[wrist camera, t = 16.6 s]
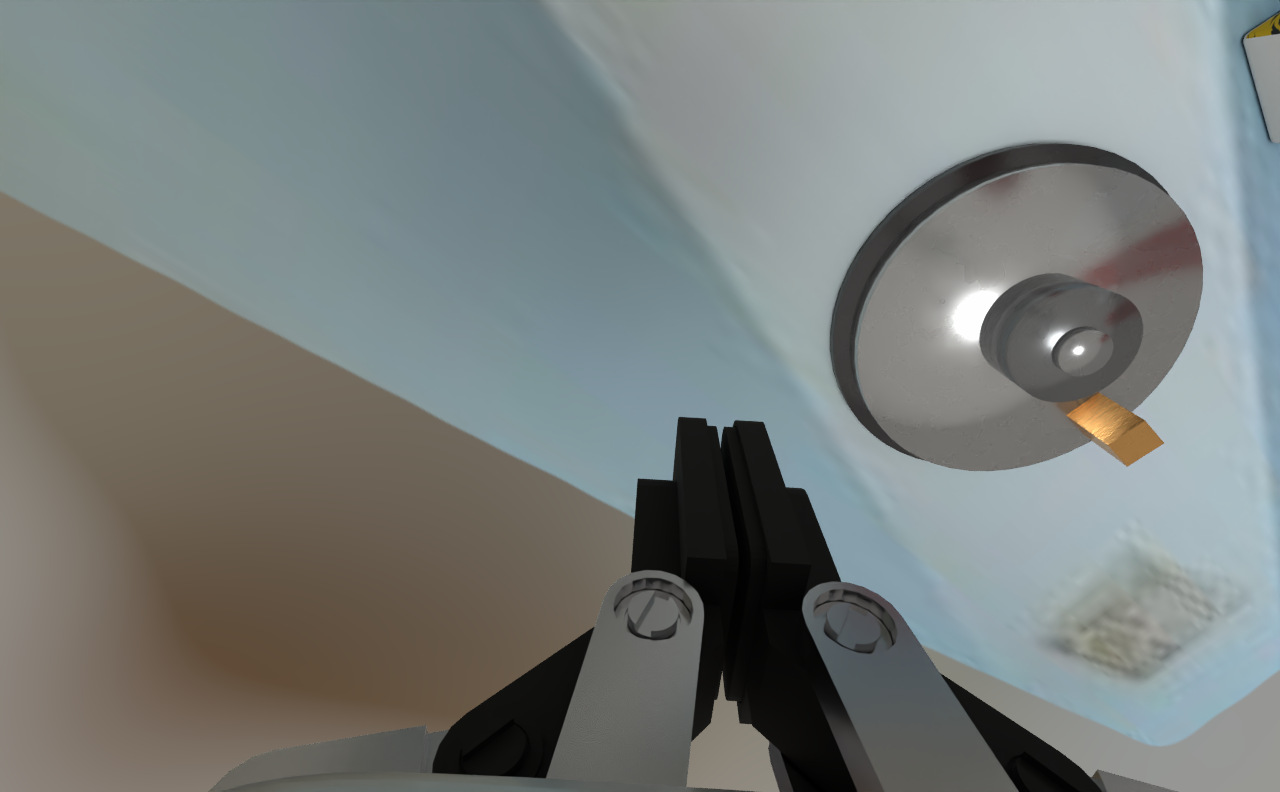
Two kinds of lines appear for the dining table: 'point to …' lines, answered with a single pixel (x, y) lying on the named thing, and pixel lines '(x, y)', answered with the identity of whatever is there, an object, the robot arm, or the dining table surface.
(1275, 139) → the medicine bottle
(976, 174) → the turntable base
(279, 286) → the dining table surface
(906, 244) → the turntable
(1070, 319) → the cover
